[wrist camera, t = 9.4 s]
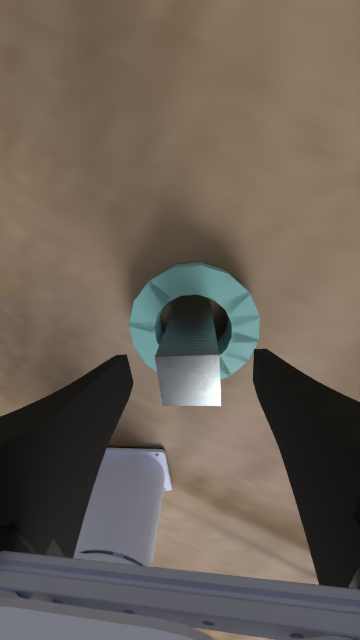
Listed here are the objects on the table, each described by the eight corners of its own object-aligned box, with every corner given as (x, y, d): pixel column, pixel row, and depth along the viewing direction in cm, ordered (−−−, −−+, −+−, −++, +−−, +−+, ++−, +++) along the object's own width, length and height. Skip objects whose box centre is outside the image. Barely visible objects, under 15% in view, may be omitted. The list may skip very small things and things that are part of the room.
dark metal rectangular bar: (178, 339, 18) (163, 405, 11) (174, 307, 17) (154, 357, 10) (212, 338, 18) (220, 405, 10) (210, 305, 16) (219, 354, 9)
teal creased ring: (148, 368, 20) (142, 385, 17) (129, 268, 16) (117, 273, 14) (249, 365, 18) (257, 383, 16) (253, 256, 15) (263, 258, 12)
